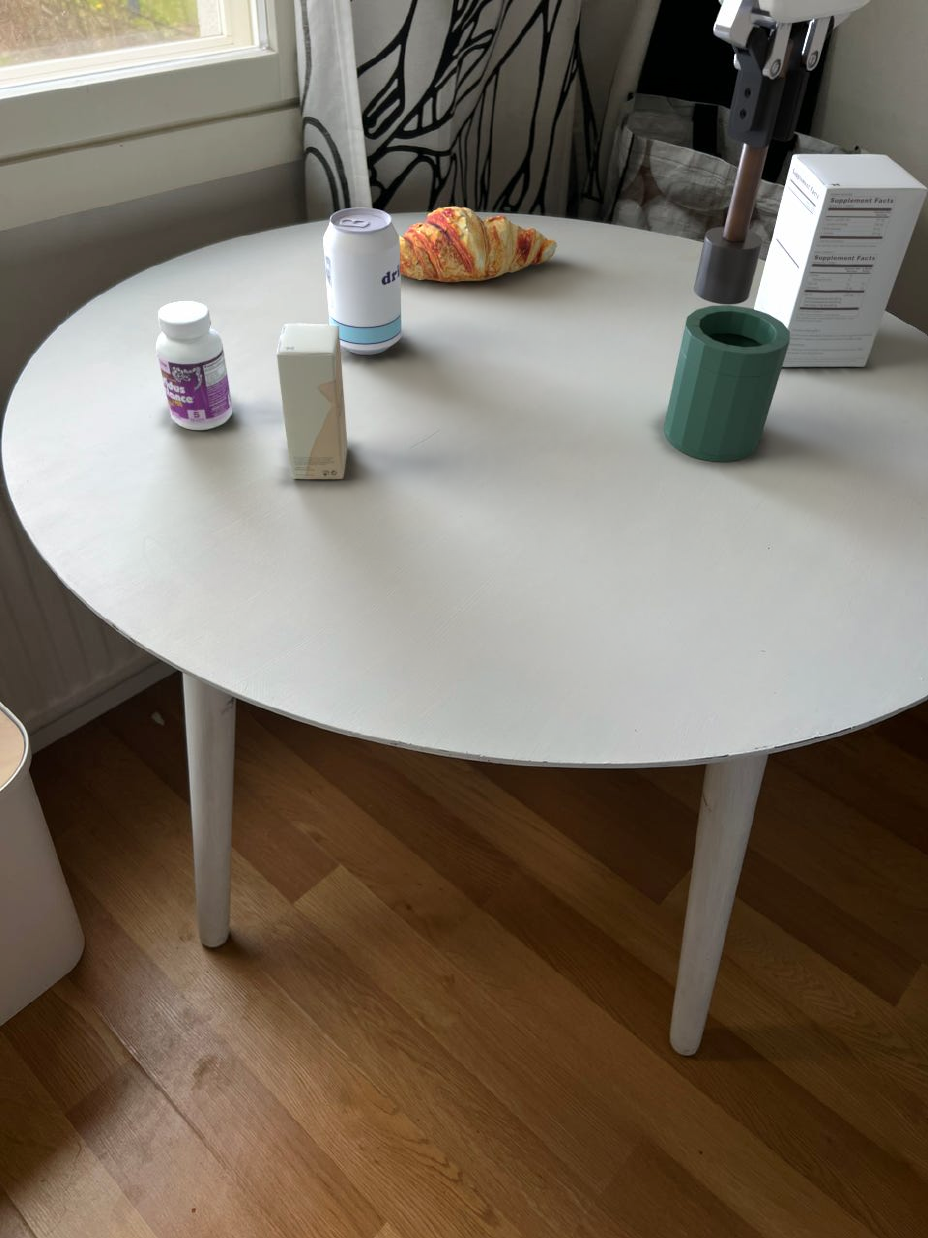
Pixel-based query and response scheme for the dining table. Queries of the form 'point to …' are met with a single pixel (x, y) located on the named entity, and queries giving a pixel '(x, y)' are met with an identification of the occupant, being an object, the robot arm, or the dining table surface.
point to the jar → (725, 382)
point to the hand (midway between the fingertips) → (758, 136)
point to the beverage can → (363, 279)
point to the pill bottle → (193, 366)
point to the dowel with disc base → (735, 233)
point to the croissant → (469, 247)
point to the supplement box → (837, 254)
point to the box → (313, 400)
